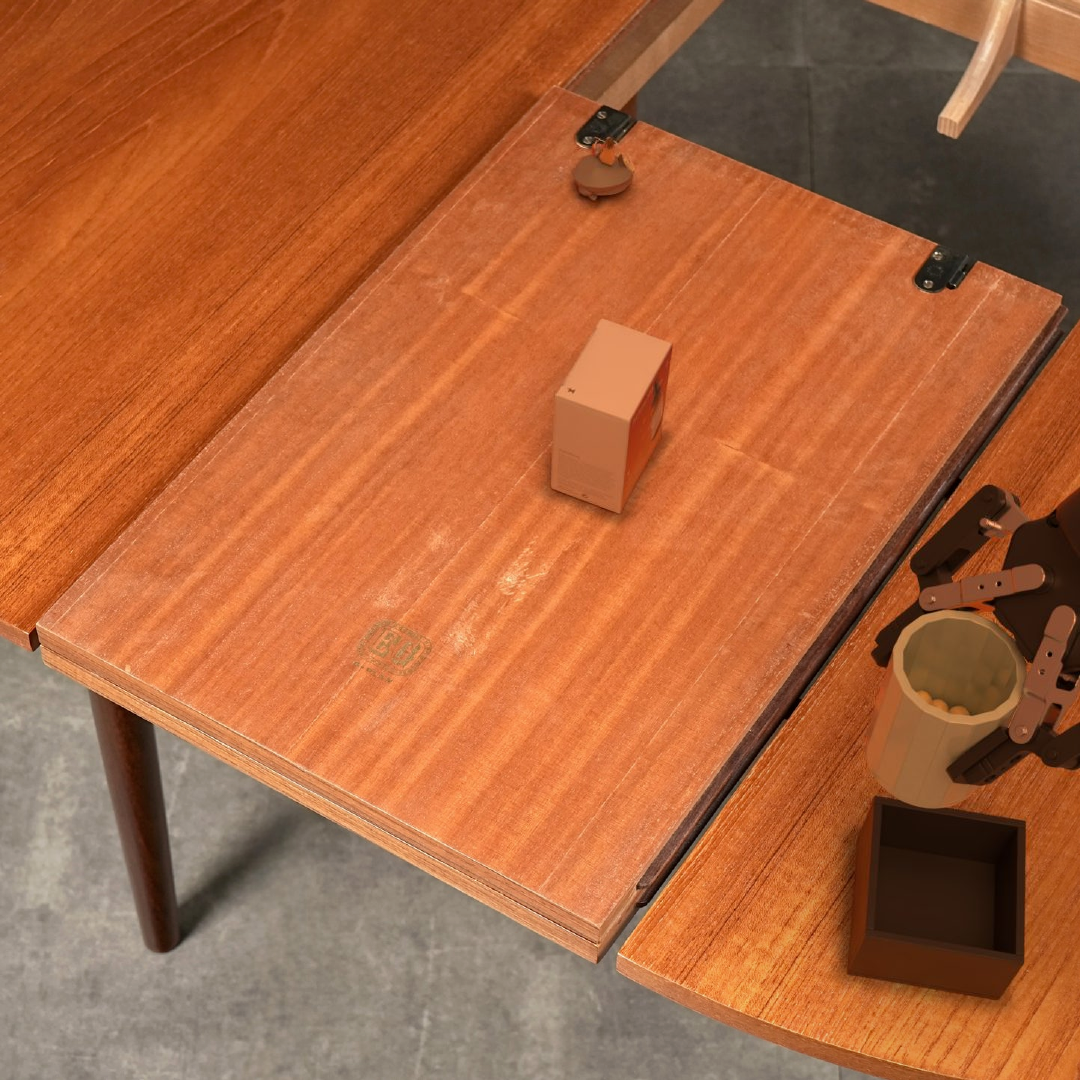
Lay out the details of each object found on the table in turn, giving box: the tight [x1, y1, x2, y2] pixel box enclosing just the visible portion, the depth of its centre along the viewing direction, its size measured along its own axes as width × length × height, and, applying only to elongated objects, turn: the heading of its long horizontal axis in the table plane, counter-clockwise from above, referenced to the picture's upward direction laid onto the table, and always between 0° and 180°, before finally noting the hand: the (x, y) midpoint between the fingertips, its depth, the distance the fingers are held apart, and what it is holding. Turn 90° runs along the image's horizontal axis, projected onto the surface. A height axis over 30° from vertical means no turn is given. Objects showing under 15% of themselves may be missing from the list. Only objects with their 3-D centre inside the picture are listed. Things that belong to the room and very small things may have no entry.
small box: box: [550, 317, 674, 515], centre depth 119 cm, size 8×6×10 cm
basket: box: [846, 795, 1027, 1001], centre depth 101 cm, size 9×9×6 cm
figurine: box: [572, 136, 637, 202], centre depth 137 cm, size 5×4×6 cm
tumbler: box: [864, 610, 1028, 808], centre depth 86 cm, size 6×6×9 cm
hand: (918, 718), depth 85 cm, fingers closed on tumbler, 6 cm apart
